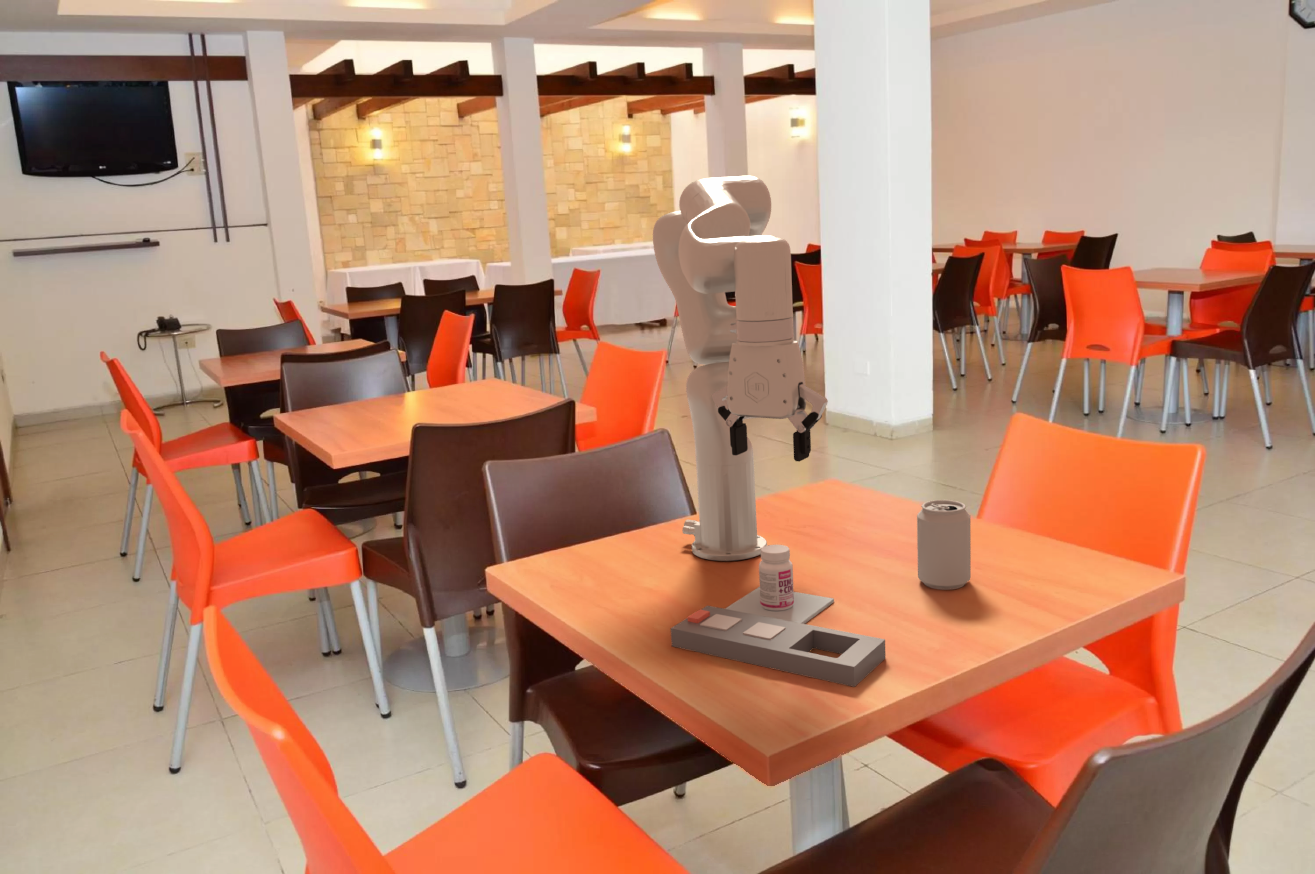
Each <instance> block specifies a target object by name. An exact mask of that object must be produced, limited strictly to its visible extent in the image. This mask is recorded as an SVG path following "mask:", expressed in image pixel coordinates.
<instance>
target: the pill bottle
mask: <svg viewBox="0 0 1315 874" xmlns="http://www.w3.org/2000/svg"><path fill="white" fill-rule="evenodd" d="M790 551H791V550H790V547H788V546H787V545H784V544H769V545H768V544H767V546H764V547H762V548H761V554H760V559H761V561H759V562H758V563H759V564H758V575H759V577H758V578H759V587H760V605H761V607H763V608H764V609H767V610H771V611H782V610H786V609H789V608H791V607H792V606H793V604H794V592H795V591H794V571H793V570H794V568H793V562H792V561H791V560H790V556H791V552H790Z"/></svg>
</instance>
